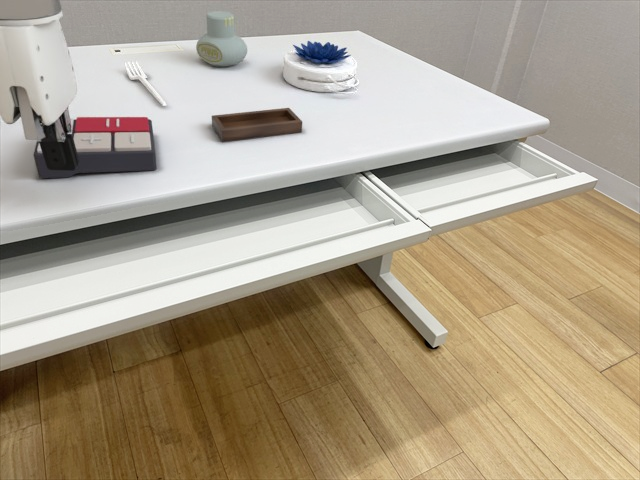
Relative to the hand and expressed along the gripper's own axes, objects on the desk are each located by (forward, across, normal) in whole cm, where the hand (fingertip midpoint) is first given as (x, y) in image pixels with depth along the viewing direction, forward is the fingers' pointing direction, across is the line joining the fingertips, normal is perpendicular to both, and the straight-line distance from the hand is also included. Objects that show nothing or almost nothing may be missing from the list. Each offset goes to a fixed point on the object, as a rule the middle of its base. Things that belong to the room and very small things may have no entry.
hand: (64, 166), depth 57 cm
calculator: (+5, -12, 0) cm, 13 cm away
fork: (+5, -39, +2) cm, 39 cm away
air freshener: (+5, -56, +15) cm, 58 cm away
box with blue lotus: (+5, -47, +37) cm, 60 cm away
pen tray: (+5, -23, +23) cm, 33 cm away
